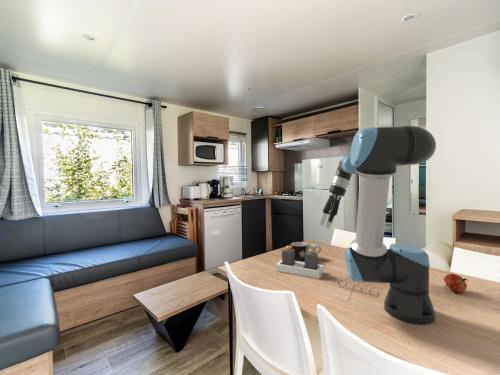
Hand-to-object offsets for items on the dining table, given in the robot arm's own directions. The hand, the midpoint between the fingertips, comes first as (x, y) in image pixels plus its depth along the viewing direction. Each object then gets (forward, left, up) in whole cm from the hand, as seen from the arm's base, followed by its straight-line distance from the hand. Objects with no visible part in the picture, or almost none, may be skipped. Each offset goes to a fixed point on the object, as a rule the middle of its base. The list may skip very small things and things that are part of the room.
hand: (323, 226), depth 126 cm
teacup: (+17, +13, -23) cm, 32 cm away
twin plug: (-5, +5, -23) cm, 24 cm away
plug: (-5, +17, -23) cm, 29 cm away
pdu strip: (-5, +11, -23) cm, 26 cm away
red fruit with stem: (+4, -52, -23) cm, 57 cm away
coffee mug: (+10, +18, -23) cm, 31 cm away
